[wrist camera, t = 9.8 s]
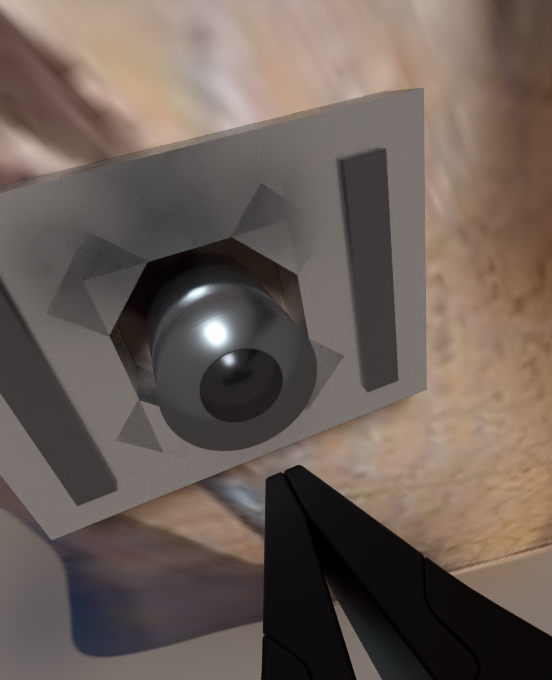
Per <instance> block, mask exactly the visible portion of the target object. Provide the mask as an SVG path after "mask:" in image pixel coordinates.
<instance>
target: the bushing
mask: <svg viewBox="0 0 552 680" xmlns="http://www.w3.org/2000/svg"><path fill="white" fill-rule="evenodd" d="M145 321H146V327H147V333H148V340H149V346H150V352H151V359H152V365H153V371H154V378H155V384H156V390H157V397H158V403H159V408H160V411H161V414H162V416H163V418H164V420H165V422H166V423H167V425H168V426H169V427H170V429H171V430H172V431H173V432H174V433H175V434H176V435H177V436H178V437H180V438H181V439H183V440H184V441H186V442H188V443H190V444H192V445H194V446H197V447H200V448H203V449H208V450H213V451H234V450H241V449H246V448H250V447H253V446H256V445H259V444H261V443H263V442H265V441H268V440H270V439H271V438H273V437H275V436H276V435H278V434H279V433H281V432H282V431H284V430H285V429H286V428H287V427H288V426H290V425H291V424H292V423H293V422H294V421H295V420H296V419H297V417H298V416H299V415H300V414H301V412H302V411H303V410H304V408H305V407H306V405H307V403H308V402H309V400H310V398H311V395H312V393H313V390H314V387H315V384H316V378H317V360H316V355H315V351H314V349H313V346H312V344H311V342H310V341H309V339H308V337H307V336H306V335H305V333H304V332H303V331H302V330H301V329H300V328H299V327H298V326H297V324H296V323H295V322H294V321H293V320H292V319H291V318H290V316H289V315H288V314H287V313H286V312H285V311H284V310H283V309H282V307H281V306H280V305H279V304H278V303H277V302H276V301H275V300H274V298H273V297H272V296H271V295H270V294H269V293H268V292H267V290H266V289H265V288H264V287H263V286H262V285H261V284H260V283H259V281H258V280H257V279H256V278H255V277H254V276H253V275H252V273H251V272H250V271H249V270H248V269H247V268H246V267H245V266H243V265H242V264H241V263H239V262H238V261H236V260H234V259H232V258H230V257H227V256H224V255H221V254H215V253H200V254H194V255H189V256H186V257H184V258H181V259H179V260H177V261H175V262H173V263H172V264H170V265H169V266H168V267H166V268H165V269H164V270H163V271H162V272H161V273H160V274H159V275H158V276H157V277H156V279H155V280H154V282H153V283H152V285H151V287H150V289H149V291H148V294H147V297H146V301H145Z"/></svg>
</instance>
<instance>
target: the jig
mask: <svg viewBox="0 0 552 680" xmlns="http://www.w3.org/2000/svg"><path fill="white" fill-rule="evenodd" d="M231 237H232V238H234V239H236V240H237V241H239V242H241V243H243V244H244V245H246V246H248V247H250V248H251V249H253V250H255V251H257V252H258V253H260V254H262V255H264V256H265V257H267V258H269V259H271V260H272V261H274V262H276V263H277V264H278V269H279V274H280V279H281V284H282V289H283V294H284V299H285V304H286V309H287V314H288V315H289V316H290V318H291V319H292V320H293V321H294V322H295V323H296V324H297V326H298V327H299V328H300V329H301V330H302V331H303V332H304V333H305V335H306V336H307V337H308V339H309V341H310V342H311V344H312V346H313V349H314V351H315V355H316V360H317V378H316V384H315V387H314V390H313V393H312V395H311V398H310V400H309V402H308V403H307V405H306V407H305V408H304V410H303V411H302V412H301V414H300V415H299V416H298V417H297V419H296V420H295V421H294V422H293V423H292V424H291V425H290V426H288V427H287V428H286V429H285V430H284V431H282V432H281V433H279V434H278V435H276V436H275V437H273V438H271V439H270V440H268V441H265V442H263V443H261V444H259V445H256V446H253V447H250V448H246V449H241V450H234V451H213V450H208V449H203V448H200V447H197V446H194V445H192V444H190V443H188V442H186V441H184V440H183V439H181V438H180V437H178V436H177V435H176V434H175V433H174V432H173V431H172V430H171V429H170V427H169V426H168V425H167V423H166V422H165V420H164V418H163V416H162V414H161V411H160V408H159V403H158V397H157V390H156V384H155V378H154V373H151V372H148V371H145V370H143V369H140V368H137V367H136V365H135V363H134V361H133V359H132V357H131V354H130V352H129V350H128V348H127V345H126V343H125V341H124V339H123V336H122V334H121V332H120V330H119V328H118V325H117V323H116V321H117V320H118V318H119V316H120V314H121V312H122V310H123V308H124V306H125V304H126V302H127V300H128V298H129V297H130V295H131V293H132V291H133V289H134V287H135V285H136V283H137V281H138V279H139V277H140V275H141V273H142V272H143V270H144V268H145V266H146V264H147V262H149V261H153V260H156V259H160V258H163V257H166V256H170V255H173V254H176V253H180V252H183V251H187V250H190V249H193V248H197V247H200V246H204V245H207V244H210V243H214V242H217V241H220V240H224V239H227V238H231ZM424 390H427V380H426V280H425V180H424V88H416V89H405V90H395V91H384V92H380V93H376V94H372V95H368V96H364V97H359V98H355V99H351V100H347V101H343V102H339V103H335V104H331V105H327V106H323V107H319V108H315V109H311V110H307V111H302V112H298V113H294V114H290V115H286V116H282V117H278V118H274V119H270V120H266V121H262V122H258V123H254V124H250V125H245V126H241V127H237V128H233V129H229V130H225V131H221V132H217V133H213V134H209V135H205V136H201V137H197V138H193V139H188V140H184V141H180V142H176V143H172V144H168V145H164V146H160V147H156V148H152V149H148V150H144V151H140V152H136V153H132V154H127V155H123V156H119V157H115V158H111V159H107V160H103V161H99V162H95V163H91V164H87V165H83V166H79V167H75V168H70V169H66V170H62V171H58V172H54V173H50V174H46V175H42V176H38V177H34V178H30V179H26V180H22V181H18V182H13V183H9V184H5V185H1V186H0V475H1V476H2V477H3V478H4V480H5V481H6V482H7V484H8V485H9V486H10V487H11V489H12V490H13V491H14V493H15V494H16V495H17V496H18V498H19V499H20V500H21V501H22V503H23V504H24V505H25V507H26V508H27V509H28V510H29V512H30V513H31V514H32V516H33V517H34V518H35V519H36V521H37V522H38V523H39V525H40V526H41V527H42V528H43V530H44V531H45V532H46V534H47V535H48V536H49V537H50V539H51V540H53V539H56V538H58V537H61V536H63V535H66V534H68V533H71V532H73V531H76V530H78V529H81V528H83V527H86V526H88V525H91V524H93V523H96V522H98V521H101V520H103V519H106V518H108V517H111V516H113V515H116V514H118V513H120V512H123V511H125V510H128V509H130V508H133V507H135V506H138V505H140V504H143V503H145V502H148V501H150V500H153V499H155V498H158V497H160V496H163V495H165V494H168V493H170V492H173V491H175V490H178V489H180V488H183V487H185V486H188V485H190V484H193V483H195V482H198V481H200V480H203V479H205V478H208V477H210V476H213V475H215V474H218V473H220V472H223V471H225V470H228V469H230V468H233V467H235V466H237V465H240V464H242V463H245V462H247V461H250V460H252V459H255V458H257V457H260V456H262V455H265V454H267V453H270V452H272V451H275V450H277V449H280V448H282V447H285V446H287V445H290V444H292V443H295V442H297V441H300V440H302V439H305V438H307V437H310V436H312V435H315V434H317V433H320V432H322V431H325V430H327V429H330V428H332V427H335V426H337V425H340V424H342V423H345V422H347V421H350V420H352V419H354V418H357V417H359V416H362V415H364V414H367V413H369V412H372V411H374V410H377V409H379V408H382V407H384V406H387V405H389V404H392V403H394V402H397V401H399V400H402V399H404V398H407V397H409V396H412V395H414V394H417V393H419V392H422V391H424Z"/></svg>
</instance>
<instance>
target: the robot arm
mask: <svg viewBox="0 0 552 680" xmlns="http://www.w3.org/2000/svg"><path fill="white" fill-rule="evenodd" d="M325 579H326V580H327V582H328V584H329V586H330V588H331V589H332V591H333V593H334V595H335V596H336V598H337V600H338V602H339V604H340V605H341V607H342V609H343V610H344V612H345V614H346V616H347V618H348V620H349V621H350V623H351V625H352V627H353V628H354V630H355V632H356V634H357V635H358V637H359V639H360V641H361V643H362V644H363V646H364V648H365V650H366V652H367V653H368V655H369V657H370V659H371V660H372V662H373V664H374V666H375V668H376V669H377V671H378V673H379V674H380V677H381V678H382V680H552V636H550V635H548V634H547V633H545V632H543V631H542V630H540V629H538V628H537V627H535V626H533V625H532V624H530V623H528V622H526V621H525V620H523V619H521V618H520V617H518V616H516V615H514V614H513V613H511V612H509V611H508V610H506V609H504V608H503V607H501V606H499V605H498V604H496V603H494V602H493V601H491V600H489V599H488V598H486V597H485V596H483V595H481V594H480V593H478V592H476V591H475V590H473V589H472V588H470V587H468V586H467V585H465V584H464V583H463V582H461V581H459V580H458V579H457V578H455V577H454V576H452V575H451V574H450V573H448V572H447V571H445V570H444V569H442V568H441V567H440V566H438V565H437V564H436V563H434V562H433V561H432V560H430V559H429V558H427V557H425V558H424V555H423V554H422V553H420V552H419V551H418V550H416V549H415V548H414V547H412V546H411V545H409V544H408V543H407V542H405V541H404V540H403V539H401V538H400V537H398V536H397V535H396V534H394V533H393V532H392V531H390V530H389V529H388V528H386V527H385V526H383V525H382V524H381V523H379V522H378V521H377V520H375V519H374V518H373V517H371V516H370V515H368V514H367V513H366V512H364V511H363V510H362V509H360V508H359V507H358V506H356V505H355V504H353V503H352V502H351V501H349V500H348V499H347V498H345V497H344V496H343V495H341V494H340V493H338V492H337V491H336V490H334V489H333V488H332V487H330V486H329V485H328V484H326V483H325V482H323V481H322V480H321V479H319V478H318V477H317V476H315V475H314V474H313V473H311V472H310V471H308V470H307V469H306V468H304V467H303V466H301V465H297V466H294V467H292V468H290V469H287V470H285V472H284V474H283V473H281V472H280V473H277V474H275V475H273V476H270V477H268V478H267V479H266V490H265V546H264V602H263V634H264V637H263V644H262V674H261V680H356V677H355V674H354V670H353V667H352V664H351V661H350V657H349V654H348V651H347V648H346V644H345V641H344V638H343V635H342V632H341V628H340V625H339V622H338V619H337V615H336V612H335V609H334V606H333V602H332V599H331V596H330V593H329V589H328V586H327V583H326V580H325Z"/></svg>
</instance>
